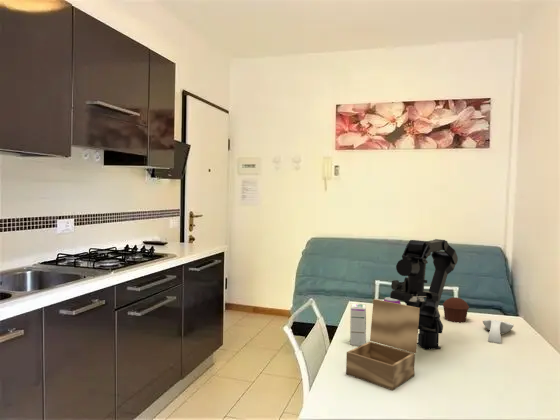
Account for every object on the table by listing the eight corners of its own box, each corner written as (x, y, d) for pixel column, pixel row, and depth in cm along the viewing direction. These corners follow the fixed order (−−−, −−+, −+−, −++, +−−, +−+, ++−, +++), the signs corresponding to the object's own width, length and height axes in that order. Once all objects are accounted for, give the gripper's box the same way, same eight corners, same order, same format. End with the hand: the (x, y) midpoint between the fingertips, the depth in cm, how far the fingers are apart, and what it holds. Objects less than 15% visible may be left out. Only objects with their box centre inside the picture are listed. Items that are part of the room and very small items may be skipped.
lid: (369, 340, 146) (371, 340, 146) (414, 353, 135) (416, 352, 136) (373, 299, 146) (375, 299, 147) (418, 308, 135) (420, 307, 136)
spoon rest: (483, 325, 191) (483, 309, 190) (513, 330, 185) (514, 313, 185) (478, 341, 170) (479, 323, 170) (512, 346, 164) (513, 328, 164)
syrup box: (365, 346, 161) (366, 307, 160) (349, 345, 162) (350, 306, 161) (365, 341, 166) (366, 304, 166) (350, 340, 168) (351, 303, 167)
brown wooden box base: (369, 361, 146) (369, 341, 146) (414, 375, 135) (414, 353, 135) (346, 374, 135) (346, 352, 135) (392, 390, 125) (393, 366, 124)
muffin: (449, 315, 206) (450, 294, 206) (472, 320, 198) (473, 298, 198) (437, 319, 198) (438, 297, 198) (461, 325, 190) (462, 302, 190)
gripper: (416, 273, 164) (413, 315, 163) (380, 271, 154) (376, 315, 153) (441, 277, 154) (437, 322, 153) (404, 276, 144) (400, 323, 144)
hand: (412, 320), depth 151 cm, fingers closed
